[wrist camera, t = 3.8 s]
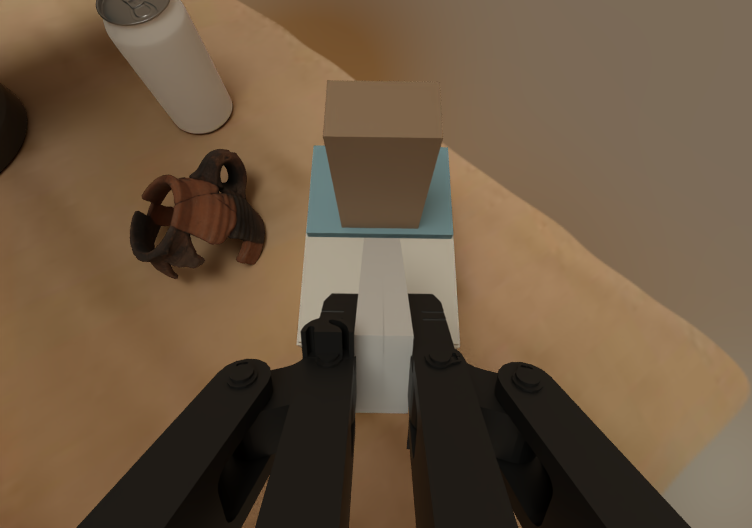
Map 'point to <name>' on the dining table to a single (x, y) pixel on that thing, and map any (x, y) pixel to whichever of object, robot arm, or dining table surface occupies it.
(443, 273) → the carton
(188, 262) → the pottery mug
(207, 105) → the can
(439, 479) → the robot arm
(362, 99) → the flap
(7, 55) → the dining table surface
